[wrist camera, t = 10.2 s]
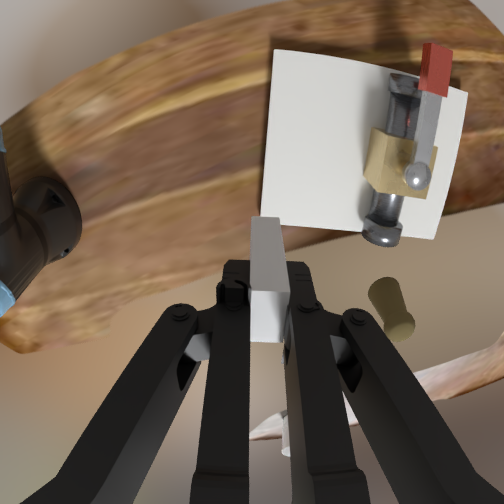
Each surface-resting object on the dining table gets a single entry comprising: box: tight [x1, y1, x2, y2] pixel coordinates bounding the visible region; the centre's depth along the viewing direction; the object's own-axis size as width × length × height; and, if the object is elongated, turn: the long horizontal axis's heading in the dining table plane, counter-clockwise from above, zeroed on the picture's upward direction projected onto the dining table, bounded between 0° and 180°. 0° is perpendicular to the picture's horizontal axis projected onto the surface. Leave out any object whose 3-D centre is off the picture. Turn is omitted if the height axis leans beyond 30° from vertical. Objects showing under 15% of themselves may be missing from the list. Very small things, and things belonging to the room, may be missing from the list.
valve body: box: [361, 73, 438, 247], centre depth 37 cm, size 7×22×8 cm, turn 176°
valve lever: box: [402, 43, 453, 191], centre depth 29 cm, size 17×3×2 cm, turn 175°
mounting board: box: [260, 49, 468, 239], centre depth 41 cm, size 28×24×2 cm
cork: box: [368, 277, 415, 342], centre depth 49 cm, size 6×6×11 cm
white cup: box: [282, 415, 290, 456], centre depth 72 cm, size 8×8×10 cm
